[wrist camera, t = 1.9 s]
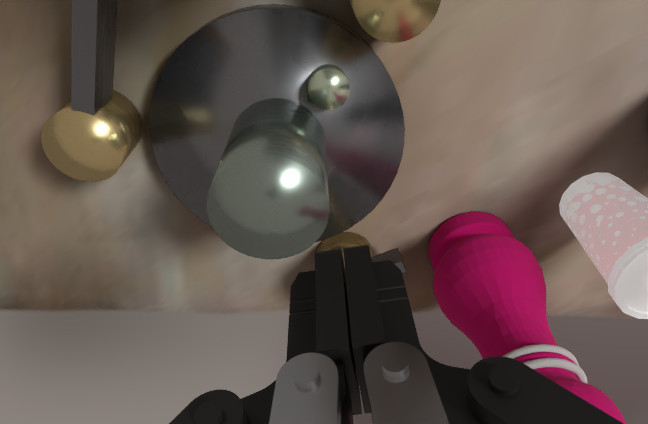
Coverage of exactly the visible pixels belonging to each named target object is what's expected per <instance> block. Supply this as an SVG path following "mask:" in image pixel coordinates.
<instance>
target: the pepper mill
mask: <svg viewBox="0 0 648 424" xmlns="http://www.w3.org/2000/svg"><path fill="white" fill-rule="evenodd" d="M429 258H430V261H431V264H432V267H433V270H434V276H433V290H434V295H435V297H436V299H437V301H438V303H439V306H440V308H441V310H442V312H443V313H444V314H445V315H446V317H447V318H448V319H449V320H450V322H451V323H452V324H453V325H454V326H456V327H457V328H458V329H459V330H460V331H462V332H463V333H464V334H465V335H466V336H467V337H468V338H469V339H470V340H471V341H472V342H473V343H474V345H475V346H476V347H477V349H478V350H479V352H480V354H481V356H482V358H483V359H485V358H488V357H494V356H501V357H508V358H512V359H515V360H518V361H520V362H522V363H524V364H525V365H527V366H529V367H530V368H532V369H534V370H535V371H537V372H539V373H540V374H542V375H544V376H545V377H547V378H549V379H550V380H552V381H554V382H555V383H557V384H559V385H560V386H562V387H564V388H565V389H567V390H569V391H570V392H572V393H574V394H575V395H577V396H579V397H580V398H582V399H584V400H585V401H587V402H589V403H590V404H592V405H594V406H595V407H597V408H599V409H600V410H602V411H604V412H605V413H607V414H609V415H610V416H612V417H614V418H615V419H617V420H619V421H620V422H622V423H624V424H626V422H625V420H624V418H623V416H622V414H621V412H620V411H619V409H618V408H617V407H616V405H615V404H614V402H613V401H612V400H611V399H610V398H609V397H608V396H606V395H605V394H604V393H603V392H602V391H601V390H599V389H598V388H596V387H594V386H592V385H589V384H587V378H586V375H585V373H584V372H583V370H582V369H581V368H580V367H579V364H578V362H577V360H576V358H575V357H574V356H573V355H572V354H571V353H570V352H569V351H567V350H566V349H564V348H562V347H559V346H558V345H557V344H556V342H555V340H554V337H553V335H552V333H551V331H550V328H549V326H548V321H547V316H546V285H545V281H544V277H543V273H542V269H541V267H540V265H539V263H538V261H537V259H536V257H535V255H534V254H533V253H532V252H531V250H530V249H529V248H528V247H527V246H526V245H525V244H523V243H521V242H520V241H518V240H516V239H515V238H514V236H513V235H512V233H511V232H510V230H509V228H508V227H507V225H506V224H505V223H504V222H503V221H502V220H501V219H500V218H498V217H496V216H495V215H492V214H489V213H486V212H476V211H474V212H467V213H462V214H459V215H457V216H454V217H452V218H450V219H448V220H447V221H446V222H444V223H443V224H442V225H440V227H439V228H438V229H437V230H436V231H435V233H434V234H433V236H432V238H431V240H430V243H429Z"/></svg>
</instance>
